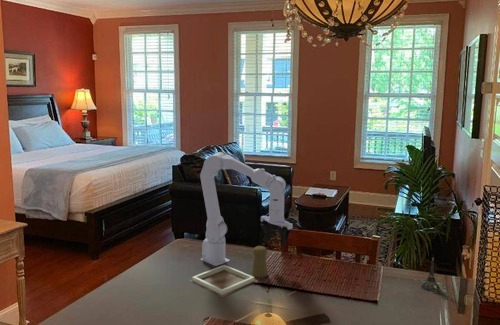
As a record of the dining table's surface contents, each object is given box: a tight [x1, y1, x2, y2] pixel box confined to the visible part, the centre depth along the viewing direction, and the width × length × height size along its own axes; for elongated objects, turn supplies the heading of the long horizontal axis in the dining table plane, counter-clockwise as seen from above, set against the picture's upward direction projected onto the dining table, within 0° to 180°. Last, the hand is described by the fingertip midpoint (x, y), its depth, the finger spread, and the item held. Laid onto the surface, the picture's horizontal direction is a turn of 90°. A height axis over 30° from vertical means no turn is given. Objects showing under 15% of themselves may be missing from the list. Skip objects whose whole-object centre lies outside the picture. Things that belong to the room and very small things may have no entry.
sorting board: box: [188, 270, 259, 298], centre depth 169 cm, size 18×18×1 cm
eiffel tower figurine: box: [414, 256, 451, 300], centre depth 165 cm, size 15×10×13 cm
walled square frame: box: [191, 264, 256, 295], centre depth 169 cm, size 16×16×2 cm
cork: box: [251, 245, 268, 278], centre depth 175 cm, size 6×6×11 cm
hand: (275, 242), depth 180 cm, fingers open, 7 cm apart
